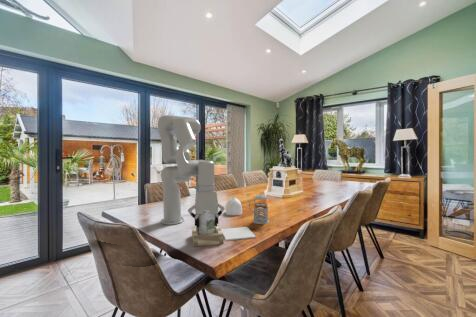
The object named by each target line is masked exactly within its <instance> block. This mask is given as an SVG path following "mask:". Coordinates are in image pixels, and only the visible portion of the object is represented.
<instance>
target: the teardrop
mask: <svg viewBox="0 0 476 317" xmlns="http://www.w3.org/2000/svg"><path fill="white" fill-rule="evenodd" d="M224 213H225V215H227V216H239V215H242V214H243V205H242V203H241V201H240V200H239V199H238V198H237V197H235V195H234V194H233V196H232V197H231V198H230V199H228V201H227V202H226V205H225V212H224Z"/></svg>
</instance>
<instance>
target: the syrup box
mask: <svg viewBox="0 0 476 317" xmlns="http://www.w3.org/2000/svg"><path fill="white" fill-rule="evenodd" d="M206 234H215V214H210V210H204V214H201V215H199V216H198V235H206Z"/></svg>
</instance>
